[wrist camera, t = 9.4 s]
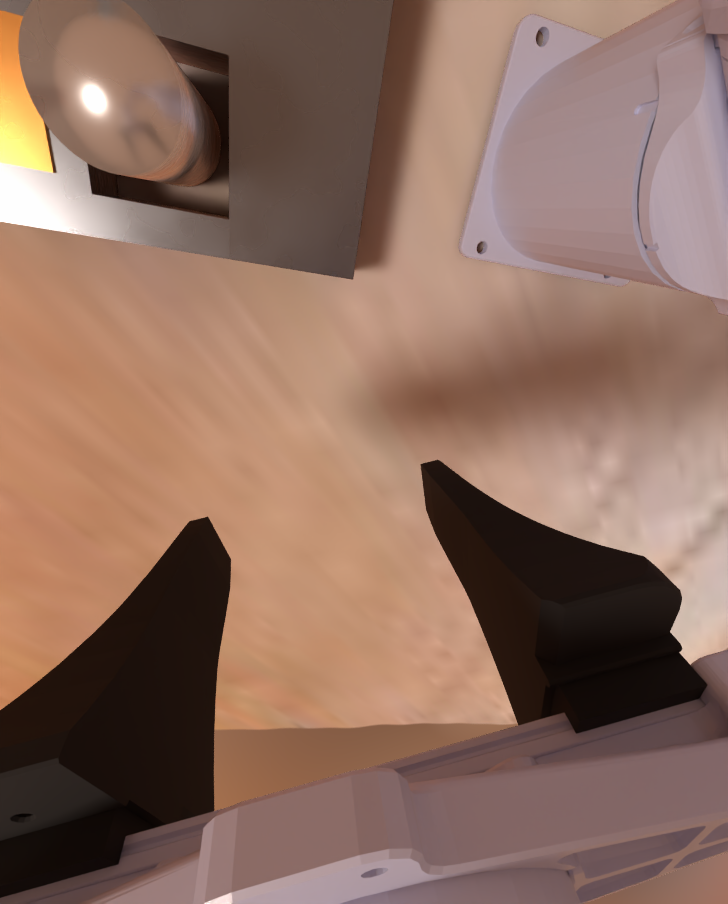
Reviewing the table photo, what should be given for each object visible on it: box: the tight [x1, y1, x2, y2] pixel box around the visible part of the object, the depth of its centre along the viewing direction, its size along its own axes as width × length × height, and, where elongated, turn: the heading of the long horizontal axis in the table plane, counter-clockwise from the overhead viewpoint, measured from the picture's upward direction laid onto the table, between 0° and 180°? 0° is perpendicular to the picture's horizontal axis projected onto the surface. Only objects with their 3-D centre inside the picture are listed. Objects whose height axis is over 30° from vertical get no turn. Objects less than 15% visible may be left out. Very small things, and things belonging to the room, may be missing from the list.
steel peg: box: [18, 0, 221, 187], centre depth 12 cm, size 3×3×7 cm
